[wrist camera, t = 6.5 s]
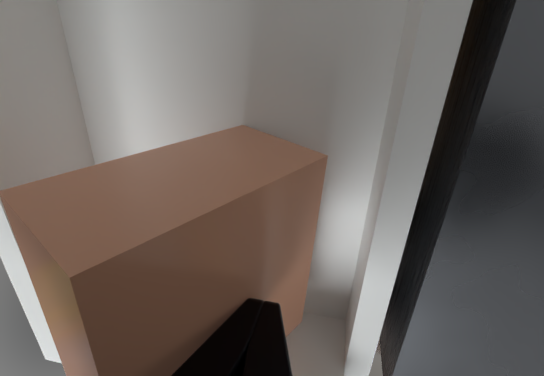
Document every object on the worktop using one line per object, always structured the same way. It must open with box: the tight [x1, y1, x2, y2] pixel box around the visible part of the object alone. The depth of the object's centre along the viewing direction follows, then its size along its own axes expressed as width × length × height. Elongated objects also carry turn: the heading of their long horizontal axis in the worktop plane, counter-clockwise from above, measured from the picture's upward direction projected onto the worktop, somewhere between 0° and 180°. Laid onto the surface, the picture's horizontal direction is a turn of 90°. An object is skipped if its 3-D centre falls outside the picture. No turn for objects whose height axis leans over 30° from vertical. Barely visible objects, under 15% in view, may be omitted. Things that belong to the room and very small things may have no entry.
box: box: [0, 0, 473, 376], centre depth 9 cm, size 17×11×4 cm, turn 178°
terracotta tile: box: [0, 125, 328, 376], centre depth 9 cm, size 6×6×3 cm
